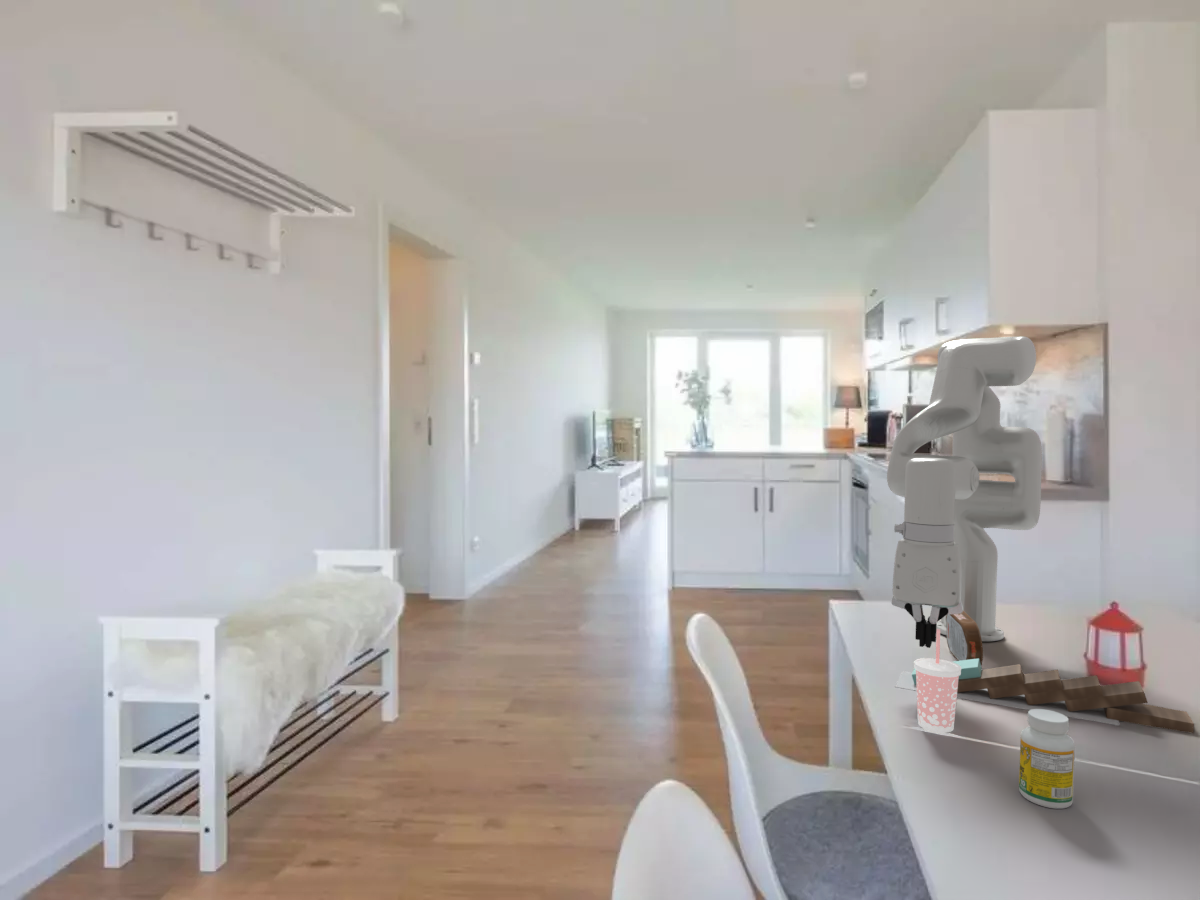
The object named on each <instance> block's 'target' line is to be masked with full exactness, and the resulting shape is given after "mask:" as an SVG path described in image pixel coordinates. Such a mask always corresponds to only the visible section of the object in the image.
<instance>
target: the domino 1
mask: <svg viewBox="0 0 1200 900" xmlns="http://www.w3.org/2000/svg"><path fill="white" fill-rule="evenodd" d="M952 662H954V663H956V664H958V665H960V666H961V675H960V676H959V679H968V678H977V677H981V671H982V670H983V668H982V666H981V664H980V660H979V658H978V659H969V660H961V661H957V660H954V661H953V660H952ZM912 678H913V681H914V684H916V669H915V668H914V667H913V670H912ZM959 679H958V680H959Z"/></svg>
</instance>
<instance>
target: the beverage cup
mask: <svg viewBox="0 0 1200 900" xmlns="http://www.w3.org/2000/svg"><path fill="white" fill-rule="evenodd" d="M935 645H936V646H935V657H934V658H933V657H922V658H917V659H915V660H914V661H913V665H914V666H913V669H914V668H915V669H916V686H917V691H916V707H917V708H916V710H917V725H919V727H920V729H921V730H922V731H925V732H928V733H931V734H937V735H950V734H951V732H952V731H954V729H955V728H954V727H955V719H956V718H955V717H956V706H957V700H958V698H957V689H958V679H959V676H960V675H961V666H960V665H958V664H956V663H954V662H953V661H950V660H946V659H942V658H940V656H941V655H940V653H941V652H940V651H941V633H940V629H937V630H936V642H935Z"/></svg>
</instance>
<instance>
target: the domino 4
mask: <svg viewBox="0 0 1200 900" xmlns="http://www.w3.org/2000/svg"><path fill="white" fill-rule="evenodd" d="M1061 681H1062V687H1063V690H1057V691H1049V692H1041V693H1033V694H1025V698H1026V701H1027V704H1028V705H1034V704H1042V703H1051V702H1059V701H1068V700H1076V699H1085V698H1093V697H1101V696H1103V693H1102V689H1101V686H1102V685H1101V683H1100V681H1099V678H1098V675H1090V676H1089V675H1088V676H1082V677H1073V678H1068V679H1067V678H1066V679H1061Z"/></svg>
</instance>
